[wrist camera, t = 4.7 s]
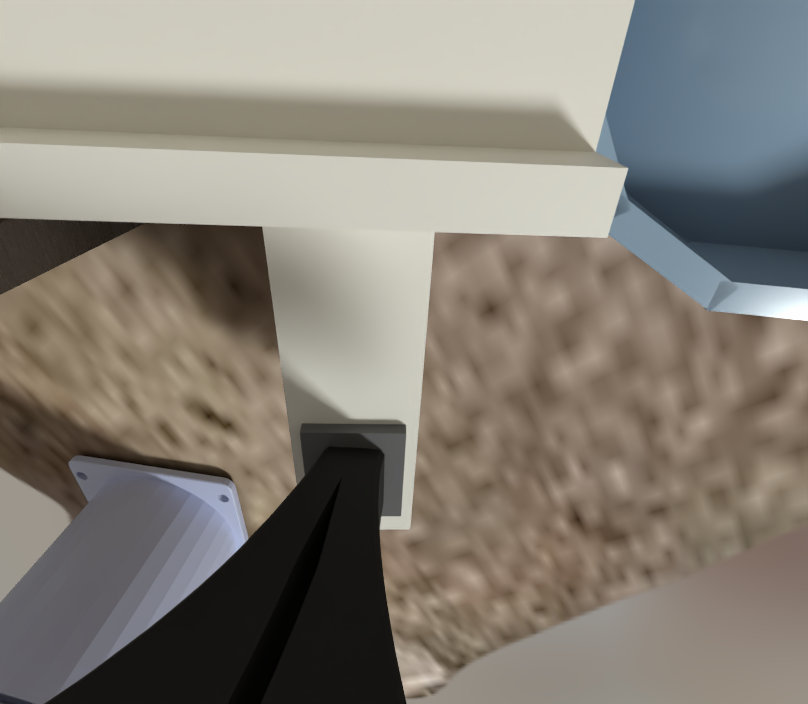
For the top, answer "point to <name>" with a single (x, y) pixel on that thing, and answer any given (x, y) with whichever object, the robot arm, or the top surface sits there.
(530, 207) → the lever
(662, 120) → the blue bowl
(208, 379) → the top surface
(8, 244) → the stand
